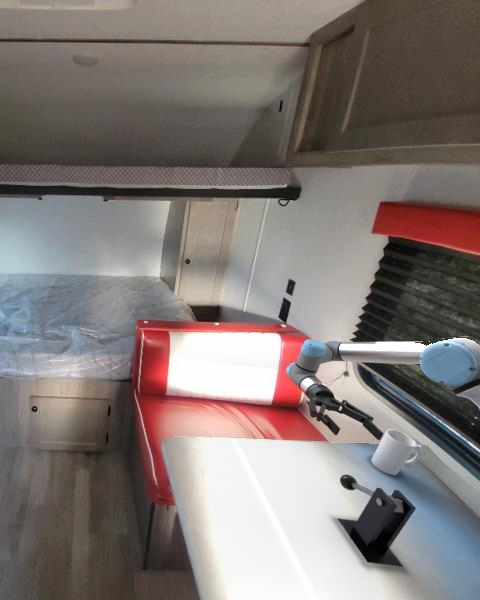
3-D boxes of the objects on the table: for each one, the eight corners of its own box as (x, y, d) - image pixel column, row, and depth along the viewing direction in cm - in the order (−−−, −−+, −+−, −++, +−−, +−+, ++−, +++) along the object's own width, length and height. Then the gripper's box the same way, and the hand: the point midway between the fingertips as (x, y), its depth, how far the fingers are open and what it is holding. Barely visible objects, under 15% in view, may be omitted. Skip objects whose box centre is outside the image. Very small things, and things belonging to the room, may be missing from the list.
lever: (336, 486, 87) (336, 471, 88) (350, 487, 87) (349, 473, 88) (390, 514, 72) (389, 496, 73) (406, 516, 72) (406, 498, 73)
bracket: (335, 521, 84) (361, 476, 78) (367, 525, 83) (395, 480, 78) (364, 565, 74) (396, 517, 68) (400, 570, 74) (435, 522, 68)
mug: (376, 472, 100) (394, 442, 96) (365, 456, 106) (381, 426, 102) (415, 483, 98) (436, 452, 93) (402, 466, 104) (420, 436, 99)
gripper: (346, 404, 125) (393, 447, 105) (280, 396, 125) (315, 439, 105) (354, 387, 122) (404, 429, 103) (287, 380, 122) (324, 420, 103)
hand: (359, 434), depth 104 cm, fingers open, 13 cm apart
